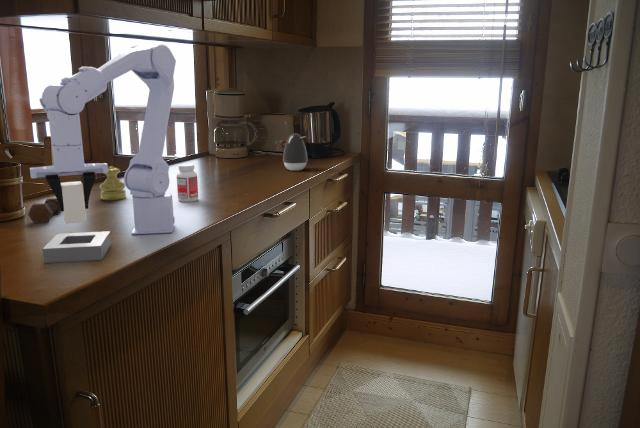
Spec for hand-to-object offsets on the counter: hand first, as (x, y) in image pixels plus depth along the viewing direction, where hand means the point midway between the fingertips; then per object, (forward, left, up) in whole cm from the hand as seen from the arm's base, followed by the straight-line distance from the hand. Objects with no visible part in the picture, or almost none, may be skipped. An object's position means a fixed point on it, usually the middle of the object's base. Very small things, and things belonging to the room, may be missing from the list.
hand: (74, 209), depth 112 cm
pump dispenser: (-63, -100, -10) cm, 119 cm away
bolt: (+15, -34, -10) cm, 39 cm away
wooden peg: (0, 0, -3) cm, 3 cm away
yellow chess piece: (+2, -55, -10) cm, 56 cm away
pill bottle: (-21, -48, -10) cm, 53 cm away
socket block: (0, +1, -9) cm, 9 cm away
